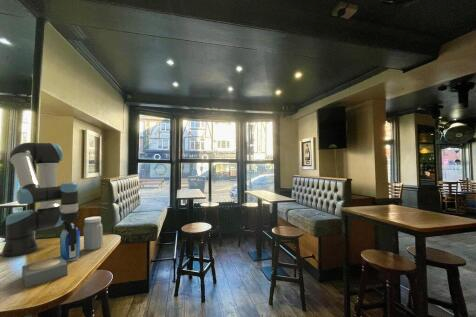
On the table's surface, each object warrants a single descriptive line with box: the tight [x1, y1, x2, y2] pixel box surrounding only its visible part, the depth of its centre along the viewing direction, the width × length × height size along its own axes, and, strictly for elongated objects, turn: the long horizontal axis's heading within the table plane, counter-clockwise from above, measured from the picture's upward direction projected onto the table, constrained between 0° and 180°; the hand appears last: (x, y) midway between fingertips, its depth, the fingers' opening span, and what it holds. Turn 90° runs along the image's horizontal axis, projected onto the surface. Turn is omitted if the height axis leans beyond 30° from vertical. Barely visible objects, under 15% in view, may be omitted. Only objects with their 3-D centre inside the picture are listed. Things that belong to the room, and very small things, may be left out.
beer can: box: [59, 226, 81, 263], centre depth 121 cm, size 8×8×16 cm
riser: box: [21, 255, 68, 289], centre depth 103 cm, size 14×14×5 cm
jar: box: [82, 215, 104, 252], centre depth 136 cm, size 10×10×18 cm
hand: (70, 255), depth 121 cm, fingers closed on beer can, 8 cm apart
